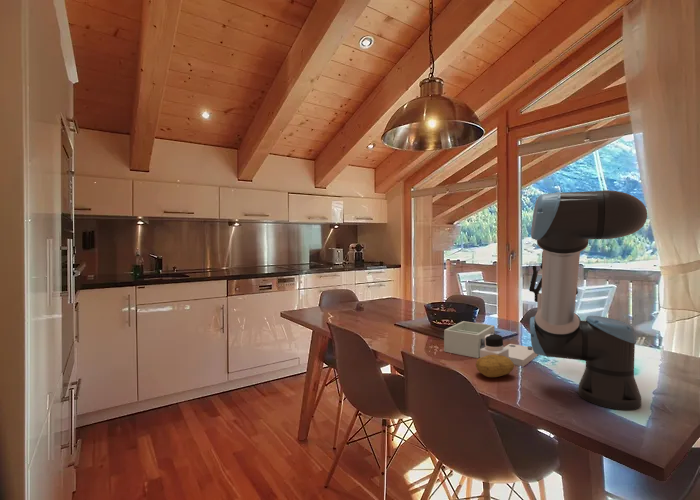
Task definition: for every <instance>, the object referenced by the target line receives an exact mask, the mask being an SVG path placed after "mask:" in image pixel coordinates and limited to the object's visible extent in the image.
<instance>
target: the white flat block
mask: <svg viewBox="0 0 700 500" xmlns="http://www.w3.org/2000/svg"><path fill="white" fill-rule="evenodd" d="M503 347H504V348H508V350H509V359H510V360H511V361H512V362H513V363H514V366H519V367H522V368H523V367H525V366H527V364H529V363H530V362H532V361H533V360H534V359H535V358H537V357H538V356H539V355H538V354H536V353H535V352H534V351H533V348H532V345H531V346H530V345H528V346H526V345H525V346H524V345H520V344H513V343H509V344H507V345H505V346H503Z"/></svg>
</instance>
